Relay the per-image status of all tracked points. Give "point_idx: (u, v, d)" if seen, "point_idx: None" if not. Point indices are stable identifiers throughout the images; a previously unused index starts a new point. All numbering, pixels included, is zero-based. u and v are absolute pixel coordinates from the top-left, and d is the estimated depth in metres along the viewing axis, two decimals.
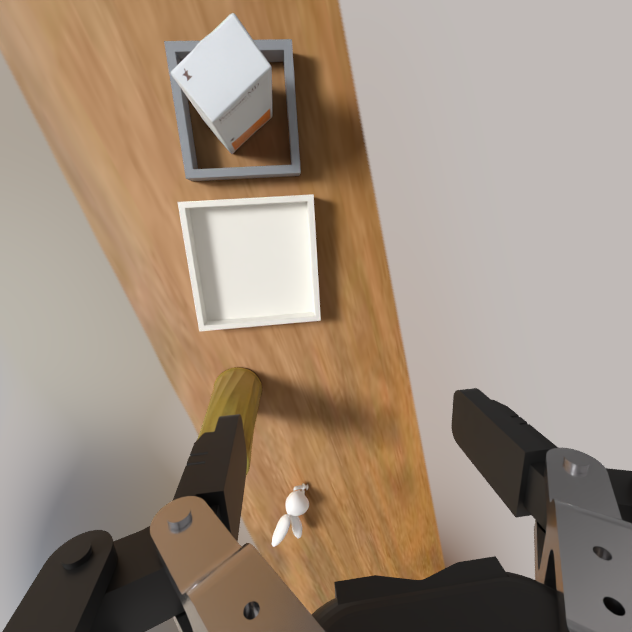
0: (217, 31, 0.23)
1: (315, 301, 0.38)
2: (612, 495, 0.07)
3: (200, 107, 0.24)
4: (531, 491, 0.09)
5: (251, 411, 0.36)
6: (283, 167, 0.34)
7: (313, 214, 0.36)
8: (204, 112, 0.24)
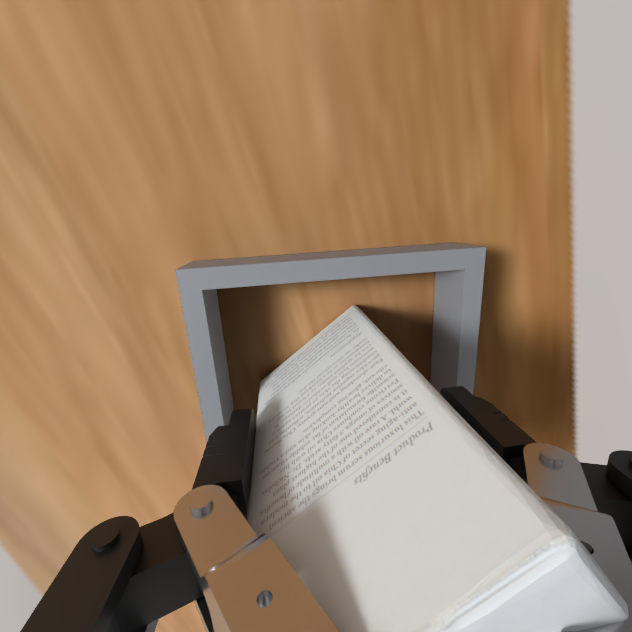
0: (481, 621, 0.04)
1: None
2: (583, 487, 0.07)
3: None
4: None
5: None
6: None
7: None
8: None
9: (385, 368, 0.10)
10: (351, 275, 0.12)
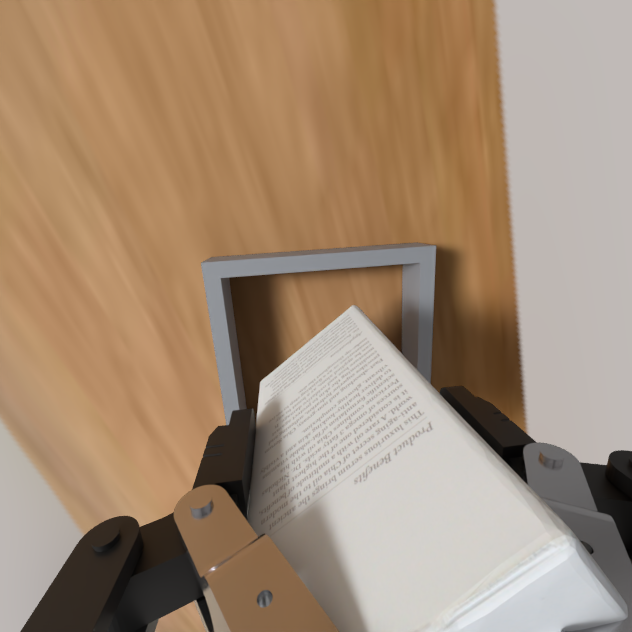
0: (482, 621, 0.04)
1: None
2: (583, 487, 0.07)
3: None
4: None
5: None
6: None
7: None
8: None
9: (385, 368, 0.10)
10: (333, 267, 0.16)
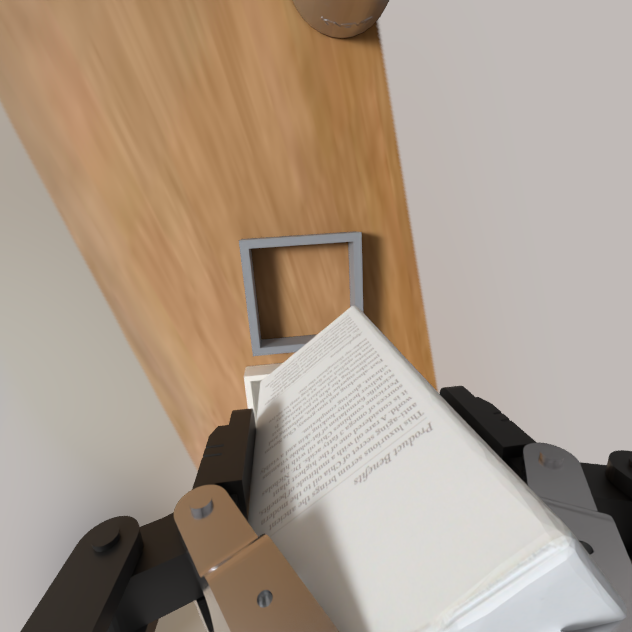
0: (481, 620, 0.04)
1: None
2: (583, 487, 0.07)
3: None
4: None
5: None
6: None
7: None
8: None
9: (385, 369, 0.10)
10: (307, 243, 0.31)
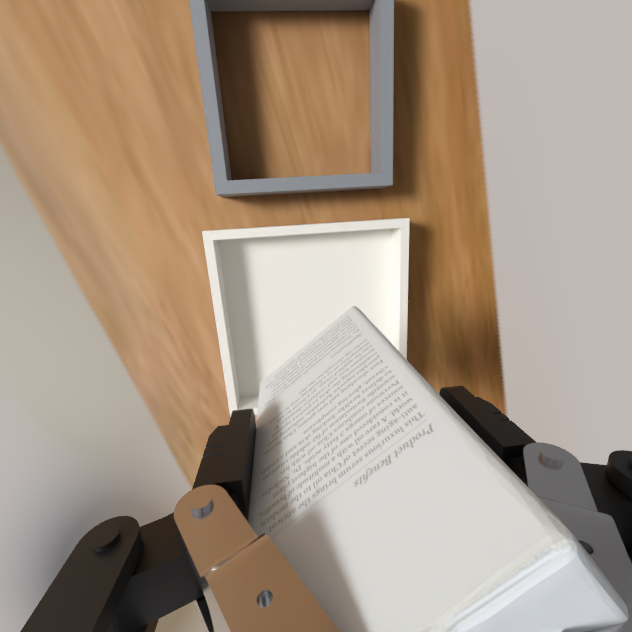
0: (483, 625, 0.04)
1: None
2: (583, 488, 0.07)
3: None
4: None
5: None
6: (367, 177, 0.22)
7: (407, 247, 0.23)
8: None
9: (385, 369, 0.10)
10: None
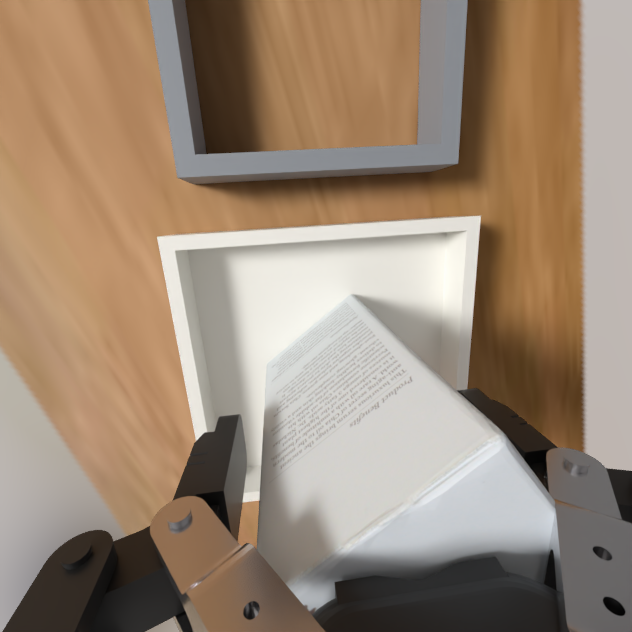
0: (440, 498, 0.06)
1: None
2: (612, 495, 0.07)
3: None
4: None
5: None
6: (419, 150, 0.14)
7: (474, 261, 0.15)
8: None
9: (377, 341, 0.11)
10: None
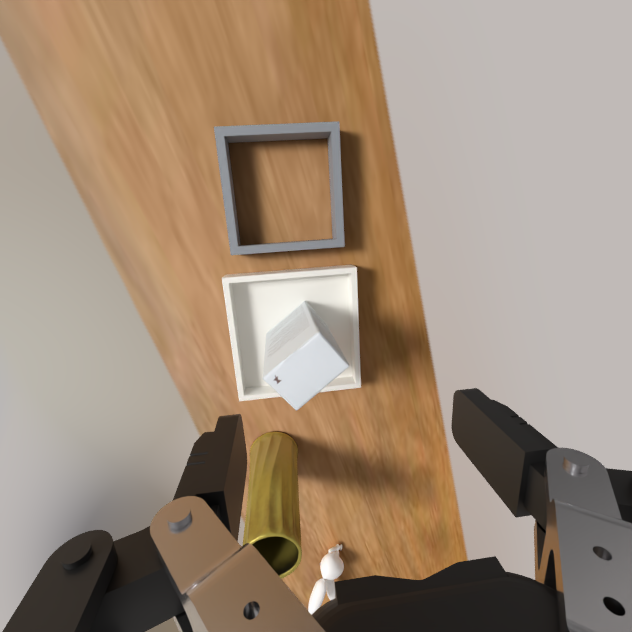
0: (305, 346, 0.26)
1: (356, 369, 0.38)
2: (612, 495, 0.07)
3: (287, 401, 0.27)
4: (531, 491, 0.09)
5: (295, 487, 0.35)
6: (327, 242, 0.34)
7: (356, 286, 0.35)
8: (290, 404, 0.27)
9: (305, 317, 0.31)
10: (283, 132, 0.31)
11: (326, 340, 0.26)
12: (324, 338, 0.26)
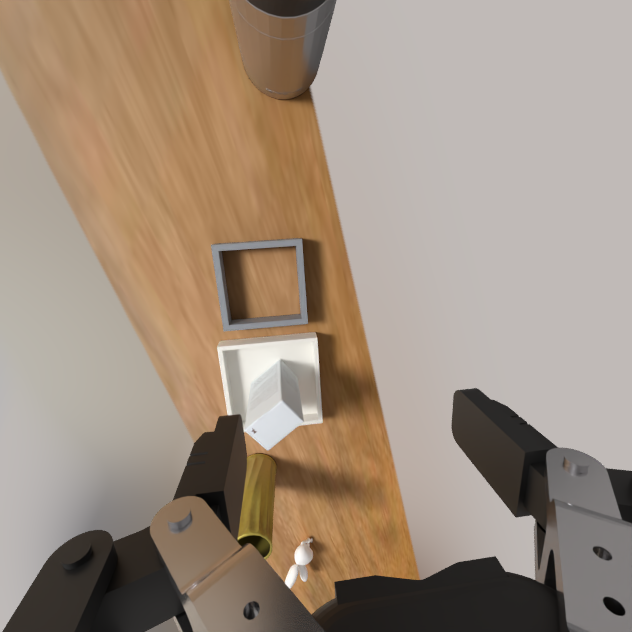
0: (273, 409, 0.38)
1: (318, 409, 0.50)
2: (612, 495, 0.07)
3: (261, 444, 0.39)
4: (531, 491, 0.09)
5: (271, 498, 0.48)
6: (295, 320, 0.46)
7: (317, 350, 0.48)
8: (263, 446, 0.40)
9: (277, 380, 0.44)
10: (261, 247, 0.43)
11: (287, 405, 0.38)
12: (285, 404, 0.38)
